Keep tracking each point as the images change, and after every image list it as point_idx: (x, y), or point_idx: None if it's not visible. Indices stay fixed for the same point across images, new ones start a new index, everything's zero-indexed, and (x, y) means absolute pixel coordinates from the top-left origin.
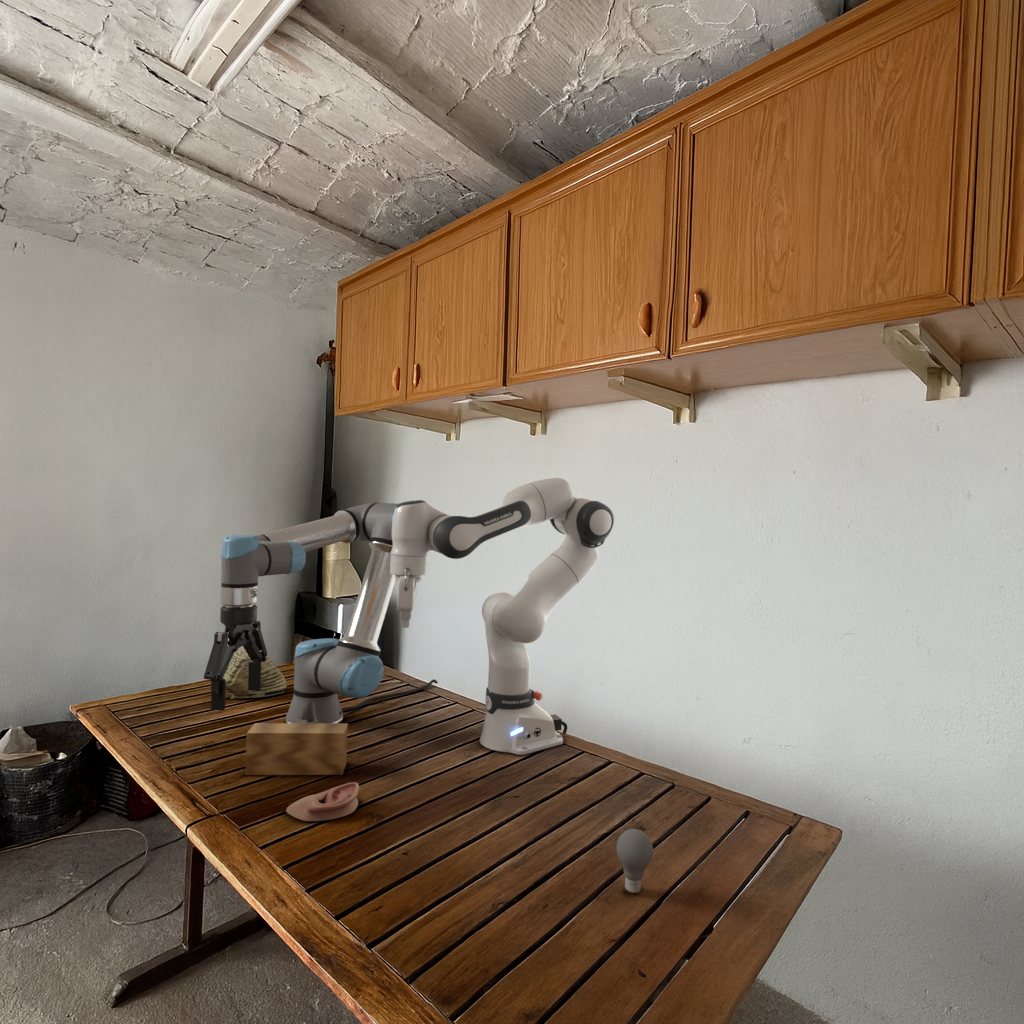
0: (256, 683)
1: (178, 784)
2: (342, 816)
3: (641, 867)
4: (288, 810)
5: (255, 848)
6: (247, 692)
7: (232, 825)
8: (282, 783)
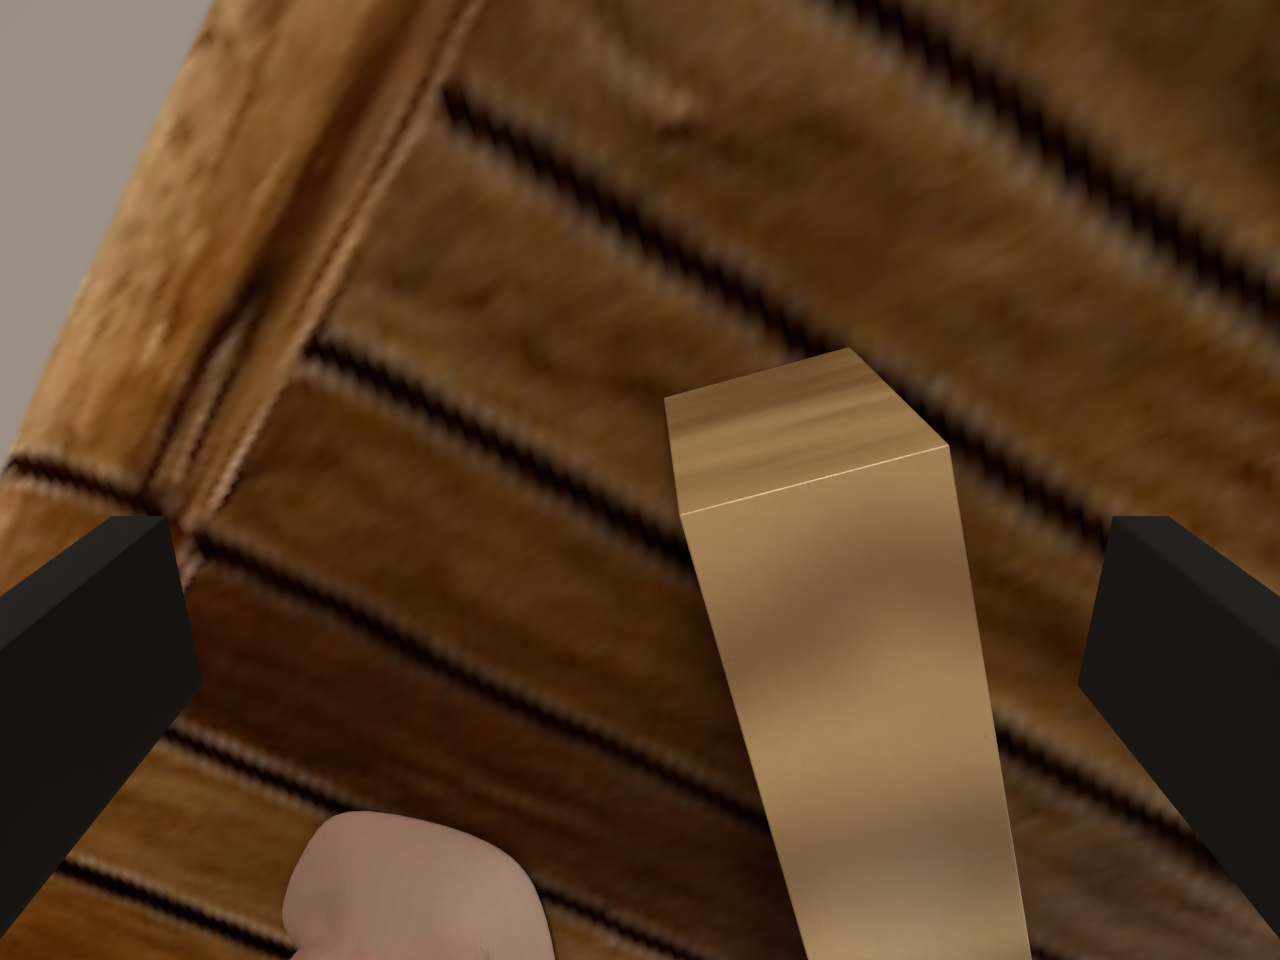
0: (1152, 724)
1: (402, 29)
2: None
3: None
4: (317, 840)
5: None
6: None
7: None
8: (620, 653)
